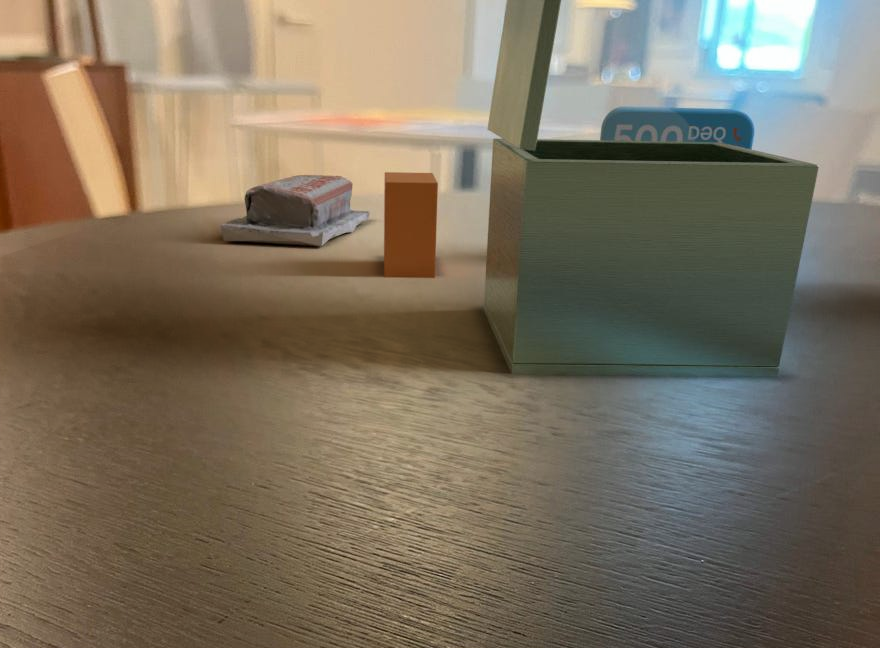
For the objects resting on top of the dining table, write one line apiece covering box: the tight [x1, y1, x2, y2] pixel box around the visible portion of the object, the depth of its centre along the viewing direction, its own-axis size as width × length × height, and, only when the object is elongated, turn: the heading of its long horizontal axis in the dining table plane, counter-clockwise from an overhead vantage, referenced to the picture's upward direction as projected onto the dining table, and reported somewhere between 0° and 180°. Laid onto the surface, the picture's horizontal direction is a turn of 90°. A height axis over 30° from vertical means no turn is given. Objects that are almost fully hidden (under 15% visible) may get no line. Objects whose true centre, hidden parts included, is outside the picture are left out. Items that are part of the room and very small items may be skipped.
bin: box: [483, 138, 820, 378], centre depth 60 cm, size 15×17×11 cm
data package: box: [599, 106, 755, 150], centre depth 86 cm, size 12×4×12 cm, turn 82°
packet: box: [383, 171, 439, 279], centre depth 83 cm, size 4×8×7 cm, turn 1°
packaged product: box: [220, 174, 371, 247], centre depth 100 cm, size 18×5×10 cm
